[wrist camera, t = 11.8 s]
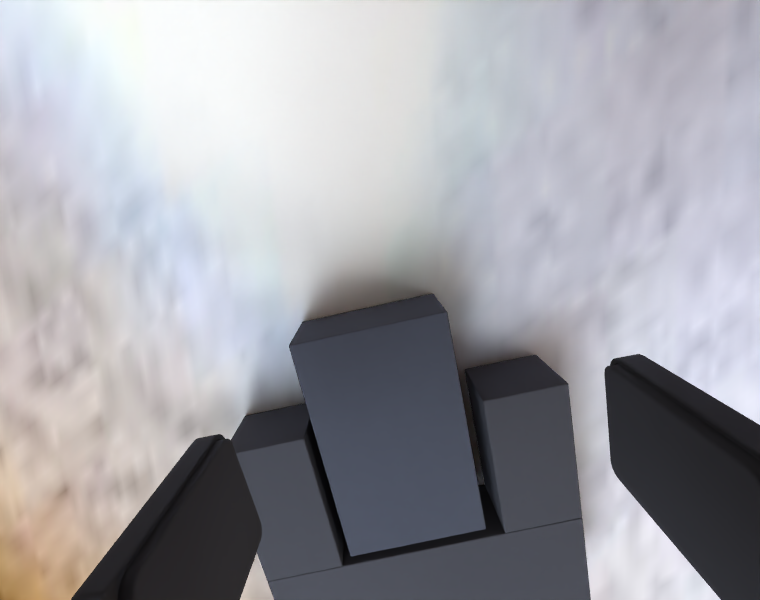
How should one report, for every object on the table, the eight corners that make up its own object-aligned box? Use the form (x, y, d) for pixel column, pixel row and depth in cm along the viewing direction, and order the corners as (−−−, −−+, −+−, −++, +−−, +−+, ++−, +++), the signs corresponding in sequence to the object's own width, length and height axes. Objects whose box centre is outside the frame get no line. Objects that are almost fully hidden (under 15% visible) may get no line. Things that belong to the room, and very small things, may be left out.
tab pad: (301, 321, 17) (288, 345, 14) (433, 293, 17) (447, 311, 14) (353, 504, 19) (350, 557, 16) (468, 480, 19) (486, 529, 16)
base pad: (244, 415, 18) (220, 456, 15) (535, 353, 18) (568, 383, 15) (309, 606, 21) (299, 671, 18) (560, 555, 20) (592, 613, 18)
